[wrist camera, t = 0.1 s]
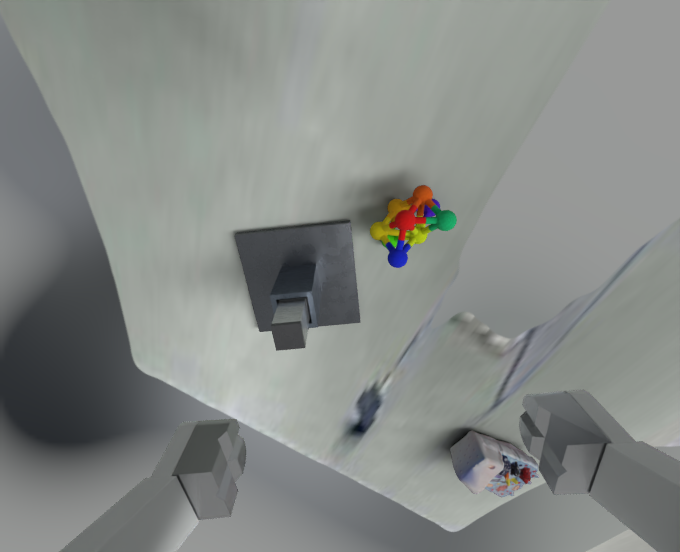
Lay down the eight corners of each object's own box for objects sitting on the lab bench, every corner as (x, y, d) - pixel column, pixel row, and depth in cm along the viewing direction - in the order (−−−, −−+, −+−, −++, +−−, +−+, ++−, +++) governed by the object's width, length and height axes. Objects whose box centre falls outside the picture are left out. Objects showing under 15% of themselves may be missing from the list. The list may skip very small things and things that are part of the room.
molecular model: (387, 250, 58) (399, 276, 47) (362, 220, 56) (369, 241, 45) (441, 209, 55) (466, 228, 45) (417, 176, 53) (438, 187, 42)
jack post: (288, 273, 58) (270, 326, 43) (310, 271, 58) (300, 323, 42) (291, 293, 59) (276, 350, 44) (314, 291, 59) (305, 348, 44)
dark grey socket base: (237, 232, 57) (212, 258, 46) (350, 220, 56) (353, 243, 45) (261, 327, 65) (245, 368, 54) (359, 318, 64) (364, 357, 53)
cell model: (488, 463, 66) (559, 489, 71) (468, 419, 76) (531, 444, 81) (451, 498, 71) (519, 520, 76) (436, 452, 81) (498, 474, 85)
